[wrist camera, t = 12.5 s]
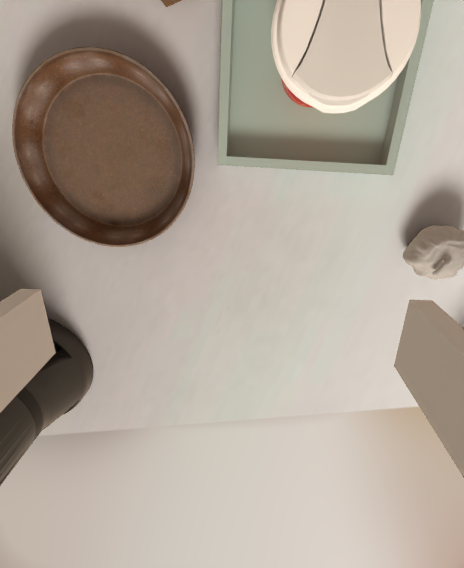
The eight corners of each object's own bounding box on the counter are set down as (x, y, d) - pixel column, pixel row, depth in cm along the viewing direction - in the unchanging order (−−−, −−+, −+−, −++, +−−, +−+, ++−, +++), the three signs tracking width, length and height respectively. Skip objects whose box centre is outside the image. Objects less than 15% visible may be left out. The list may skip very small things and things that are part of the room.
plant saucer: (142, 269, 40) (132, 279, 37) (5, 170, 36) (-17, 173, 34) (235, 141, 33) (232, 141, 30) (79, 6, 30) (60, -7, 27)
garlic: (406, 278, 37) (427, 300, 32) (390, 236, 35) (409, 251, 31) (464, 255, 35) (495, 274, 31) (450, 209, 34) (480, 221, 29)
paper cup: (271, 17, 28) (277, -81, 16) (365, 17, 28) (452, -86, 15) (266, 121, 31) (266, 111, 19) (350, 122, 31) (411, 112, 18)
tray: (220, 163, 34) (217, 164, 32) (227, -47, 27) (224, -63, 25) (384, 172, 33) (393, 175, 31) (431, -43, 26) (447, -60, 24)
